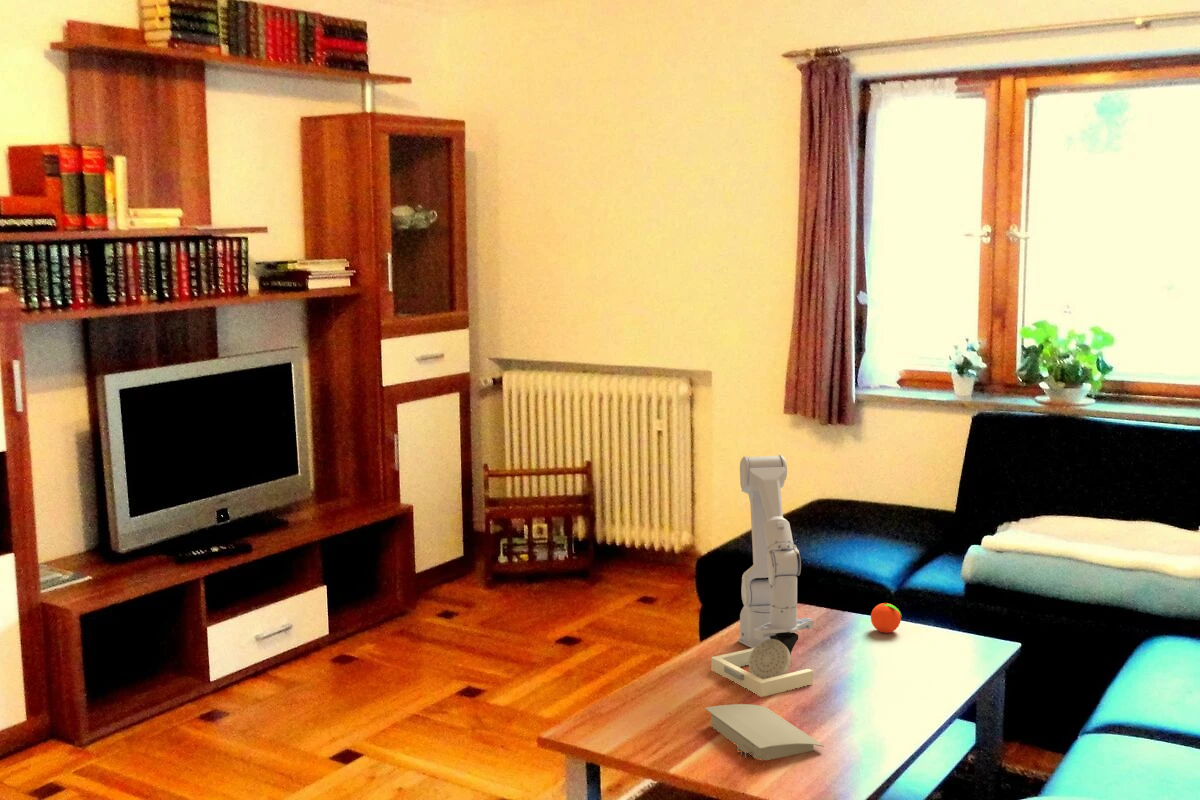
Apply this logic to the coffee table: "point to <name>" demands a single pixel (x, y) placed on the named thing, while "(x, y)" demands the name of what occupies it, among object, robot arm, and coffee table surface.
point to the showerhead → (769, 659)
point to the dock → (730, 669)
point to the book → (759, 731)
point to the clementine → (885, 617)
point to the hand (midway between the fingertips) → (783, 665)
